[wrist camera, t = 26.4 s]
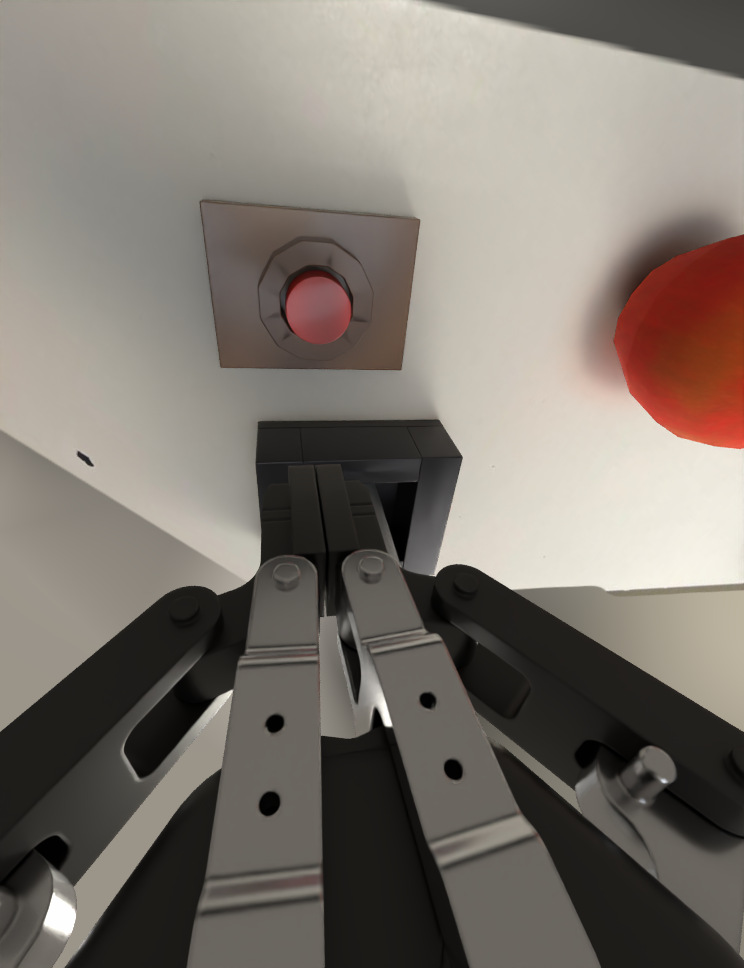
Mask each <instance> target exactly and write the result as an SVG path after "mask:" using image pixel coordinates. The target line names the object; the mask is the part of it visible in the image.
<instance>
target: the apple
mask: <svg viewBox="0 0 744 968" xmlns="http://www.w3.org/2000/svg"><path fill="white" fill-rule="evenodd" d="M614 344H615V347H616V350H617V354H618V357H619V360H620V363H621V366H622V369H623V372H624V376H625V379H626V382H627V385H628V388H629V391H630V393H631V395H632V396H633V397H634V398H635V399H636V400H637V401H638V402H639V403H640V404H641V406H642V407H643V408H644V409H645V410H646V411H647V412H648V413H649V414H650V415H651V416H652V418H653V419H654V420H655V421H656V422H657V423H659V424H660V425H661V426H663V427H664V428H666V429H667V430H669V431H670V432H672V433H673V434H675V435H676V436H677V437H680V438H684V439H688V440H692V441H696V442H700V443H704V444H708V445H712V446H717V447H727V448H736V449H742V448H744V235H740V236H736V237H731V238H727V239H724V240H722V241H719V242H716V243H713V244H710V245H707V246H704V247H701V248H698V249H695V250H692V251H689V252H687V253H684V254H681V255H678V256H676V257H674V258H672V259H671V260H669V261H667V262H666V263H664V264H662V265H661V266H659V267H657V268H656V269H654V270H652V271H651V273H650V274H649V275H648V276H647V277H646V278H645V279H644V280H643V282H642V283H641V284H640V285H639V286H638V287H637V288H636V290H635V291H634V292H633V293H632V295H631V296H630V298H629V300H628V302H627V303H626V305H625V307H624V309H623V310H622V312H621V314H620V316H619V317H618V322H617V327H616V332H615V337H614Z"/></svg>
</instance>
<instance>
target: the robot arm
mask: <svg viewBox="0 0 744 968" xmlns="http://www.w3.org/2000/svg"><path fill="white" fill-rule="evenodd" d="M288 474H289V483H284V484H270V485H269V487H268V488H267V490H266V491H265V493H264V494H263V496H262V531H261V563H260V567H259V569H258V571H257V573H256V574H255V576H254V577H253V578H252V579H251V580H250V581H249V582H247V583H246V584H245V585H243V586H241V587H239V588H237V589H235V590H232V591H229V592H226V593H223V594H221V595H216V594H215V593H214V592H213V591H212V590H210V589H208V588H205V587H201V586H187V587H182V588H179V589H176V590H173V591H171V592H169V593H167V594H166V595H164V596H163V597H162V598H160V599H159V600H158V601H157V602H155V603H154V604H153V605H152V606H151V607H149V608H148V609H147V610H146V611H145V612H143V613H142V614H141V615H140V616H139V617H138V618H136V619H135V620H134V621H133V622H131V623H130V624H129V625H128V626H127V627H126V628H124V629H123V630H122V631H121V632H119V633H118V634H117V635H116V636H115V637H113V638H112V639H111V640H110V641H109V642H107V643H106V644H105V645H104V646H103V647H101V648H100V649H99V650H98V651H97V652H95V653H94V654H93V655H92V656H91V657H90V658H88V659H87V660H86V661H85V662H84V663H82V664H81V665H80V666H79V667H78V668H76V669H75V670H74V671H73V672H72V673H70V674H69V675H68V676H67V677H66V678H64V679H63V680H62V681H61V682H60V683H58V684H57V685H56V686H55V687H54V688H53V689H51V690H50V691H49V692H48V693H46V694H45V695H44V696H43V697H42V698H40V699H39V700H38V701H37V702H36V703H34V704H33V705H32V706H31V707H30V708H29V709H27V710H26V711H25V712H24V713H22V714H21V715H20V716H19V717H18V718H16V719H15V720H14V721H13V722H12V723H10V724H9V725H8V726H7V727H6V728H5V729H3V730H2V731H1V732H0V968H52V967H53V965H54V964H55V962H56V961H57V959H58V957H59V956H60V954H61V953H62V951H63V949H64V947H65V945H66V943H67V941H68V939H69V936H70V934H71V931H72V929H73V925H74V921H75V917H76V909H77V899H76V894H75V890H74V888H73V887H74V886H75V884H76V883H77V882H78V881H79V880H80V878H81V877H82V876H83V875H84V874H85V872H86V871H87V870H88V868H90V866H91V865H92V864H93V863H94V861H95V860H96V859H97V858H98V857H99V855H100V854H101V853H102V851H103V850H104V849H105V848H106V847H107V846H108V844H109V843H110V842H111V841H112V840H113V838H114V837H115V836H116V835H117V833H118V832H119V831H120V830H121V829H122V827H123V826H124V825H125V824H126V822H127V821H128V820H129V819H130V818H131V816H132V815H133V814H134V812H136V810H137V809H138V808H139V807H140V805H141V804H142V803H143V802H144V800H145V799H146V798H147V797H148V796H149V794H150V793H151V792H152V791H153V790H154V788H155V787H156V786H157V785H158V783H159V782H160V781H161V780H162V779H163V777H164V776H165V775H166V774H167V773H168V771H169V770H170V769H171V767H172V766H173V765H174V764H175V762H177V760H178V759H179V758H180V756H181V755H182V754H183V753H184V752H185V750H186V749H187V748H188V747H189V746H190V745H191V743H192V742H193V741H194V740H195V738H196V737H197V736H198V734H200V732H201V731H202V730H203V729H204V727H205V726H206V725H207V724H208V722H209V721H210V720H211V719H212V718H213V717H214V715H215V714H216V713H217V712H218V710H219V709H220V708H221V707H222V706H223V704H224V703H225V702H226V701H227V699H228V698H229V696H230V695H231V693H232V691H233V689H234V691H233V697H232V703H231V710H230V717H229V723H228V730H227V737H226V743H225V751H224V757H223V764H222V768H221V769H220V770H218V771H217V772H216V773H214V774H213V775H211V776H210V777H209V778H207V779H206V780H205V781H204V782H203V783H202V784H201V785H200V786H199V787H197V789H196V790H194V791H193V792H192V793H191V795H190V796H189V797H188V798H187V799H186V801H184V802H183V804H182V805H181V806H180V807H179V809H178V810H177V811H176V813H175V814H174V815H173V817H172V818H171V819H170V821H169V822H168V824H167V825H166V826H165V828H164V829H163V831H162V832H161V833H160V835H159V836H158V838H157V839H156V840H155V842H154V843H153V845H152V846H151V847H150V849H149V850H148V852H147V853H146V855H145V856H144V857H143V859H142V860H141V861H140V863H139V864H138V866H137V867H136V869H135V870H134V871H133V873H132V874H131V875H130V877H129V878H128V880H127V881H126V882H125V884H124V885H123V887H122V888H121V889H120V891H119V892H118V894H117V895H116V896H115V898H114V899H113V901H112V902H111V903H110V905H109V906H108V908H107V909H106V911H105V912H104V913H103V915H102V916H101V917H100V919H99V920H98V922H97V923H96V924H95V926H94V927H93V929H92V930H91V932H90V933H89V934H88V936H87V937H86V938H85V940H84V941H83V943H82V944H81V945H80V947H79V948H78V950H77V951H76V953H75V954H74V955H73V957H72V958H71V960H70V961H69V962H68V964H67V965H66V966H65V968H744V960H743V959H742V957H741V956H740V955H739V952H740V942H741V932H742V923H743V912H744V732H743V731H741V730H739V729H738V728H736V727H734V726H733V725H731V724H729V723H728V722H726V721H725V720H723V719H721V718H720V717H718V716H716V715H715V714H713V713H712V712H710V711H708V710H707V709H705V708H703V707H702V706H700V705H699V704H697V703H695V702H694V701H692V700H690V699H689V698H687V697H685V696H684V695H682V694H681V693H679V692H677V691H676V690H674V689H672V688H671V687H669V686H668V685H666V684H664V683H662V682H661V681H659V680H658V679H656V678H654V677H653V676H651V675H650V674H648V673H646V672H644V671H643V670H641V669H640V668H638V667H636V666H635V665H633V664H632V663H630V662H628V661H626V660H625V659H623V658H622V657H620V656H619V655H617V654H615V653H614V652H612V651H610V650H609V649H607V648H605V647H604V646H602V645H601V644H599V643H597V642H596V641H594V640H592V639H591V638H589V637H587V636H586V635H584V634H583V633H581V632H579V631H578V630H576V629H574V628H573V627H571V626H569V625H568V624H566V623H565V622H563V621H561V620H560V619H558V618H556V617H555V616H553V615H552V614H550V613H548V612H547V611H545V610H543V609H542V608H540V607H538V606H537V605H535V604H534V603H532V602H530V601H529V600H527V599H525V598H524V597H522V596H521V595H519V594H517V593H515V592H514V591H512V590H511V589H509V588H508V587H506V586H504V585H503V584H501V583H499V582H498V581H496V580H494V579H493V578H491V577H490V576H488V575H486V574H485V573H483V572H481V571H480V570H478V569H476V568H474V567H471V566H467V565H461V564H455V565H450V566H447V567H444V568H443V569H441V570H440V571H439V572H438V574H437V576H436V577H435V576H429V575H424V574H418V573H414V572H410V571H408V570H405V569H403V568H402V567H400V566H399V564H398V563H397V561H396V560H395V559H394V558H393V557H392V556H391V555H389V554H388V552H387V549H386V546H385V542H384V539H383V536H382V532H381V529H380V526H379V522H378V519H377V516H376V512H375V509H374V506H373V502H372V499H371V496H370V492H369V490H368V489H367V488H366V487H365V486H364V485H363V484H362V483H361V482H360V481H359V480H352V481H344V477H343V473H342V468H341V465H340V464H328V465H315V471H314V466H313V465H302V466H288ZM324 606H326V614H327V616H336V618H337V624H338V639H337V641H338V648H339V652H340V656H341V661H342V665H343V670H344V674H345V678H346V683H347V687H348V692H349V696H350V701H351V705H352V710H353V715H354V722H355V735H356V738H352V739H344V738H336V737H327V736H321V733H320V731H321V730H320V729H321V728H320V664H319V636H320V635H319V634H320V617H324ZM475 711H476V712H477V713H479V714H480V715H481V716H482V717H484V718H485V719H486V720H488V721H489V722H490V723H491V724H492V725H494V726H495V727H496V728H497V729H499V730H500V731H501V732H502V733H504V734H505V735H506V736H508V737H509V738H510V739H511V740H513V741H514V742H515V743H516V744H517V745H519V746H520V747H521V748H522V749H524V750H525V751H526V752H527V753H529V754H530V755H531V756H532V757H534V758H535V759H536V760H537V761H538V762H540V763H541V764H542V765H544V766H545V767H546V768H547V769H548V770H550V771H551V772H552V773H553V774H555V775H556V776H557V777H559V778H560V779H561V780H562V781H564V782H565V783H566V784H567V785H568V786H570V787H571V788H572V789H573V790H575V791H576V798H577V801H578V804H579V807H580V810H581V812H582V814H581V813H580V812H578V811H577V810H576V809H575V808H574V807H573V806H572V805H571V804H569V803H568V802H567V801H566V800H565V799H564V798H563V797H561V796H560V795H559V794H558V793H557V792H556V791H554V790H553V789H552V788H551V787H550V786H549V785H547V784H546V783H545V782H544V781H543V780H542V779H541V778H539V777H538V776H537V775H536V774H535V773H534V772H533V771H531V770H530V769H529V768H528V767H527V766H526V765H524V764H523V763H522V762H521V761H520V760H519V759H517V758H516V757H515V756H514V755H513V754H512V753H510V752H509V751H508V750H507V749H506V748H504V747H503V746H502V745H500V744H499V743H497V742H496V741H494V740H493V739H491V738H489V737H487V736H486V734H485V732H484V730H483V728H482V725H481V723H480V721H479V719H478V716H477V714H476V712H475Z"/></svg>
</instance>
